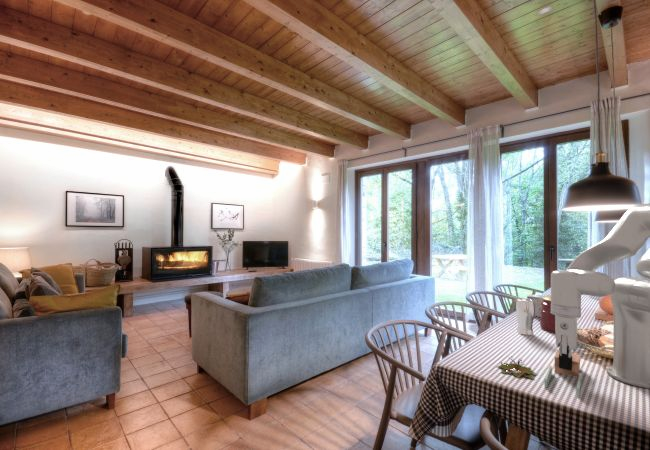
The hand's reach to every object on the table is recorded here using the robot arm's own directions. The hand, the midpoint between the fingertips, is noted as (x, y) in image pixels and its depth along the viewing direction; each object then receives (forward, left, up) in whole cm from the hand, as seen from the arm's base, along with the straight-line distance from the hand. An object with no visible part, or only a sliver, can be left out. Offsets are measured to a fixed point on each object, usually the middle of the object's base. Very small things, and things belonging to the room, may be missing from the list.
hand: (565, 368), depth 96 cm
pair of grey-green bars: (0, +7, -3) cm, 7 cm away
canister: (+7, -55, -3) cm, 56 cm away
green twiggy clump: (+12, +6, -3) cm, 14 cm away
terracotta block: (0, -6, -3) cm, 7 cm away
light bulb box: (+17, -78, -3) cm, 80 cm away
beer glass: (+17, -39, -3) cm, 43 cm away
